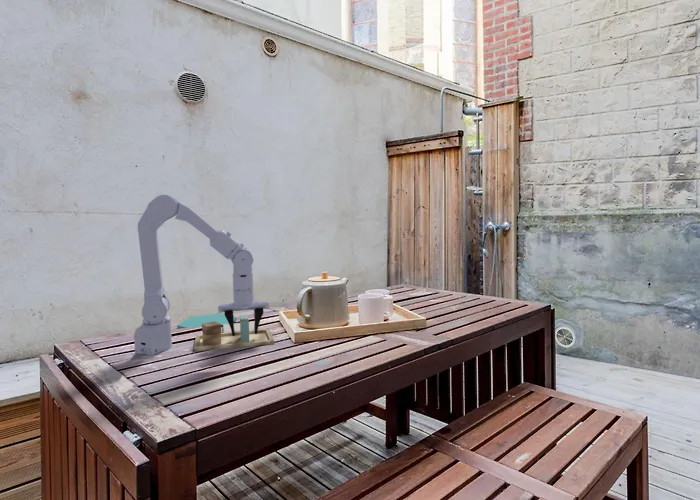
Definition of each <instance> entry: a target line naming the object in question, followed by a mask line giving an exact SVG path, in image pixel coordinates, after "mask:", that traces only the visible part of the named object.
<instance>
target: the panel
mask: <svg viewBox="0 0 700 500" xmlns="http://www.w3.org/2000/svg"><path fill="white" fill-rule="evenodd" d="M249 322H250V320H249V316H248V315H246V314H245V315H239V323H240V335H241V342H242V343H244V342H249Z"/></svg>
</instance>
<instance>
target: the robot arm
mask: <svg viewBox="0 0 700 500" xmlns="http://www.w3.org/2000/svg"><path fill="white" fill-rule="evenodd" d="M172 218H175V220H179V221H184V222H186V223H188V224H190V225H191V226H192V227H193V228H195V229H196V230H197V231H199V232H200V233H201V234H203V235H204V236H205V237H206V238H208V239H209V246H211V247H212V248H213V250H215V251H217V252H218V253H219V254H220V255H222V256H223V257H224V258H225V259H227V260H231V261H230V262H231V263H232V265H233V266H232V269H233V271H232V293H233V294H232V295H233V297H232V298H233V302H231V303H225V304H224V303H223V304H218V305H217V311H218V313H220V314H222V313H223V314H224V315H225V317H226V319H227V321H228V323H229V325H230V328H231V331H232V336H235V331H234V323H235V322H234V317H235V316H234V312H238V311H253V313H254V314H253V315H254V318H253V320H254V333H255V334H257V331H258V330H259V325H260V321H261V319H262V317H263V315H264V310H269V309H270V302H269V301H254V274H253V272H252V271H253V264H254V257H253V255H252V253H251V251H249V250H248V248H247V247H244V246H245V244H243V243H242V242H241V243H240V242H238V241H237V240H236V239H235V238H233V237H232V233H230V232H229V231H225V230H222V229H220V230H216V229H215V228H214V227H213V226H212V225H210V223H208V222H207V221H206V220H205V219H203V218H202V216H200V215H199V213H197V212H195V211H194V210H193V209H192V208H190V207H189V206H187V205H186V204H184V203H182V202H180V201H178V200H177V199H176V198H175V197H173V196H170V195H167V194H160V195H157V196H156V197H154V199H152V200H151V201H150V202H148V204H147V206H146V208H145V210H144V211H143V213H142V215H141V217H140V219H139V220H138V222H137V235H138V242H139V251H140V258H141V267H142V278H143V284H144V285H143V286H144V293H143V302H144V303H143V306H142V308H141V316H142V318H143V319H142V323H141V325H140V326H138V327H137V328H136V329H135V330H134V334H133V339H134V353H135V354H138V355H139V354H140V355H146V356H148V355H149V356H154V355H157V354H158V353H161V352H165V351H167V350H170V349H171V348H173V342H172V341H173V339H172V322H171V319H172V318H171V316H170V315H168V312H169V310H170V307H171V304H170V301H169V299H168V297H167V296H166V291H165V287H164V284H163V283H164V282H163V273H162V265H161V264H162V263H161V255H160V246H159V238H158V237H159V236H158V230H159V229H160V227H162V225H164V224H165V222H166V221H168V220H170V219H172ZM135 354H132V357H134V356H135Z"/></svg>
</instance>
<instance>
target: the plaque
mask: <svg viewBox="0 0 700 500" xmlns="http://www.w3.org/2000/svg"><path fill="white" fill-rule="evenodd" d="M233 317H234V323H235V322H236V321H238V320H237V319H238V318H237V316H233ZM215 321H216V322H218V323H220V324H221V326H223V324H229V323H228V321H227V319H226V317H225V313H210V314H201V315H195V316H194V315H193V316H190V317H188V318H186V319H184V320H183V321H181V322H179V323H178V324H177V325H176V328H177V329H190V328H192V329H193V328H202V323H208V322H215Z"/></svg>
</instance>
